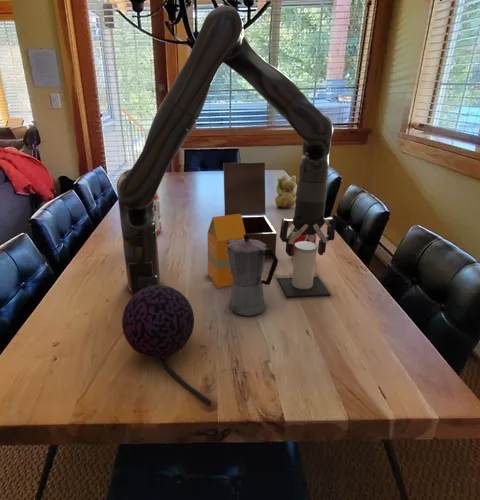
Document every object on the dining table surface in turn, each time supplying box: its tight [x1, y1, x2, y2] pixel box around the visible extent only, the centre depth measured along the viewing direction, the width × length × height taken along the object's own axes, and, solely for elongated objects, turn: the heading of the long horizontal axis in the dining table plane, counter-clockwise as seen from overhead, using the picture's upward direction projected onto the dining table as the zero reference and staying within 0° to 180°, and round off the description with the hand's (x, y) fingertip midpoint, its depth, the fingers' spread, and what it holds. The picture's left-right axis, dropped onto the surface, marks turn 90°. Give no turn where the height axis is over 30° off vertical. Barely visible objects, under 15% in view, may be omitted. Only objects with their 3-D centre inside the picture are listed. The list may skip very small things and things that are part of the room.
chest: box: [242, 215, 278, 260], centre depth 128 cm, size 18×15×10 cm
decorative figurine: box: [274, 174, 297, 210], centre depth 173 cm, size 10×8×15 cm
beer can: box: [153, 192, 163, 236], centre depth 144 cm, size 6×6×16 cm
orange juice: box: [207, 213, 246, 289], centre depth 107 cm, size 8×9×20 cm
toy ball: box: [121, 284, 195, 359], centre depth 78 cm, size 15×15×15 cm
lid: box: [223, 161, 266, 216], centre depth 132 cm, size 18×15×1 cm
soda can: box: [291, 233, 317, 262], centre depth 119 cm, size 7×7×12 cm
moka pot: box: [226, 234, 279, 317], centre depth 92 cm, size 10×15×20 cm, turn 51°
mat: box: [276, 276, 331, 299], centre depth 106 cm, size 12×12×1 cm
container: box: [291, 241, 318, 289], centre depth 104 cm, size 6×6×12 cm
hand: (305, 254), depth 102 cm, fingers open, 8 cm apart
